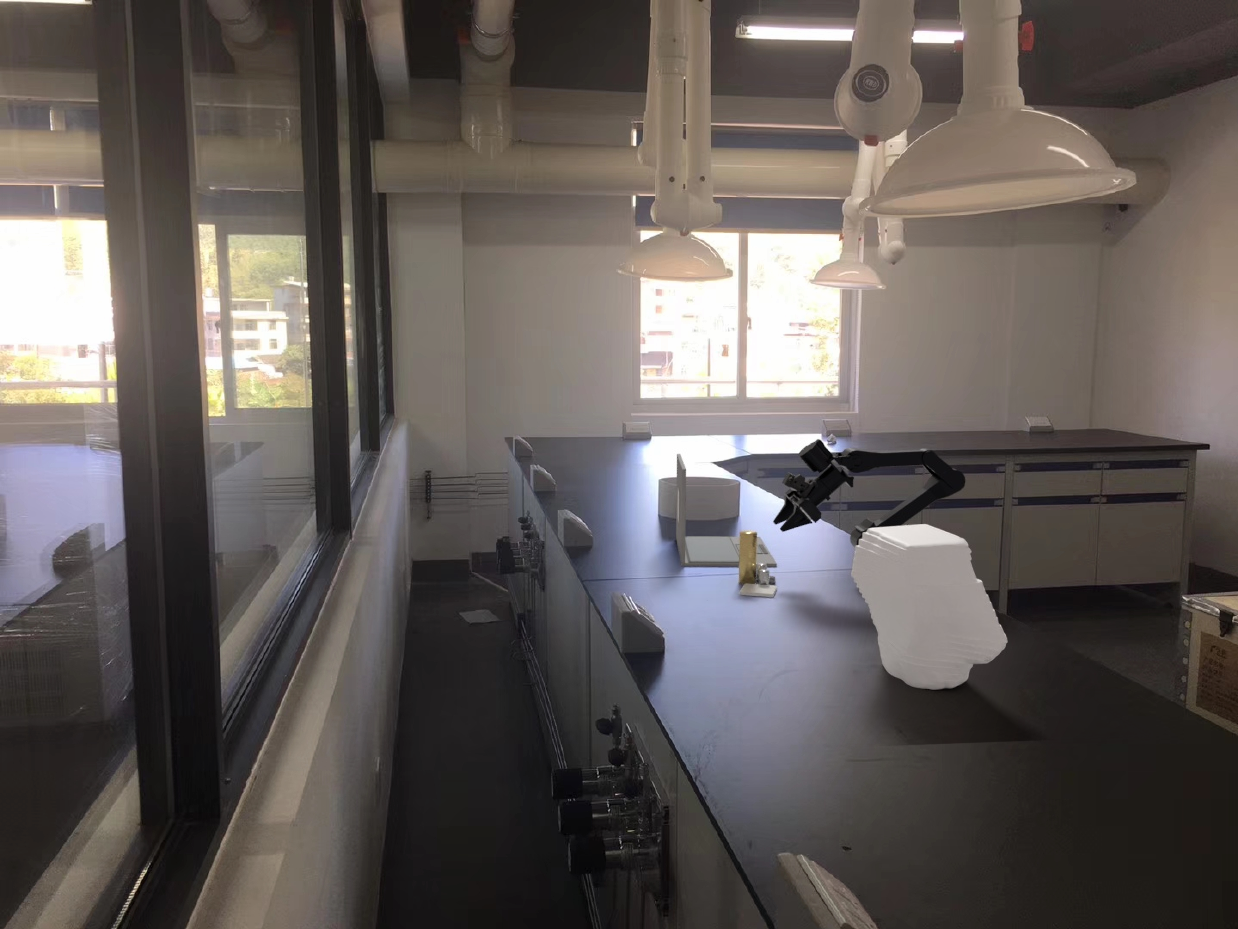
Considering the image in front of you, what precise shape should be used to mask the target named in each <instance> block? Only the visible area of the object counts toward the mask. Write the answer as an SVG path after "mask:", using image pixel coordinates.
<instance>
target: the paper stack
mask: <svg viewBox="0 0 1238 929" xmlns="http://www.w3.org/2000/svg"><path fill="white" fill-rule="evenodd" d="M854 549H855V550H854V551H853V552H854V554H853V555H854V557H853V559H852V568H851V573H850V577H851V578H853V583H856V588H858V590H859V591H858V592H859V594H861V598H863V599H864V602H865V603H866V604H867V605H868V606H867V607H868V608H869V614H871V615H870V618H871V620H872V624H873V625H874V626H875V628H876V631H877V635H878V636H877V642H878V644H877V646H878V647H879V653H880V654H879V655H880V659H881V662H882V663H881V665H882V666H883V667H884V670H886V672H887V673H888V674H889V675H891V676H892V677H893V678H894V677H895V678H896V679H899V680H902V682H904V683H905V684H906V685H907V686H910V687H913V688H915V689H924V690H925V689H927V690H928V689H929V690H932V691H933V690H935V691H938V690H943V689H953V688H956V687H957V686H961V685H962V684H964V683H965V682H967V680H968V679H969V675H970V672H971V669H972V668H973V667H974V666H973V665H983V664H989V663H990V662H991V661H993V660H994V659H995V658H997V656H999V655H1000V653H1002V651H1003V650H1005V648H1006V645H1007V643H1008V637H1007V635H1006V633H1005V632H1004V629H1003V627H1002V625H1001V624H1000V623H999V617H998V616H997V613H996V611H995V609H994V607H993V603H992V602H991V600H990V597H989V594H987V592H986V589H985V587H984V582H983V581H982V580H981V579H979V578H977V576H976V574H975V570H974V568H973V565H972V562H971V561H972V556H971V553H972V549H971V548H970V547H969V543H968V542H967V541H966V539H965V538H963V537H960V536H958V535H956V534H954V533H951V532H948V531H945V530H943V529H941V528H938V527H935V526H932V525H930V524H927V523H923V524H920V523H919V524H918V523H917V524H908V525H907V524H903V525H901V526H890V527H876V528H869V529H868V530H867V531H866V532H863V534H862V539H859V545H857V546H855V547H854Z"/></svg>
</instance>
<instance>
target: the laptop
mask: <svg viewBox="0 0 1238 929" xmlns="http://www.w3.org/2000/svg"><path fill="white" fill-rule="evenodd" d="M686 468H687V467H686V465H685V463H684V459H683V458H682V455H681V453H677V454H676V502H675V503H676V508H675V510H676V511H675V512H676V513H675V516H676V519H675V520H676V521H675V522H676V524H675V525H676V527H675V534H676V536H675V538H676V546H677V549H678V555H679V559H680V565H681V567H701V568H702V567H706V568H707V567H708V568H709V567H710V568H711V567H713V568H714V567H715V568H716V567H719V568H720V567H721V568H722V567H723V568H724V567H727V568H730V567H731V568H732V567H733V568H735V567H737V568H739V539H740V536H728V535H727V536H716V535H715V536H714V535H713V536H709V535H708V536H707V535H705V536H704V535H703V536H702V535H701V536H700V535H698V536H697V535H695V536H694V535H692V536H689V535H687V536H686V526H687V524H686V518H687V517H686V515H687V514H686V510H687V508H686V504H687V498H686V497H687V469H686ZM758 563H764V564H767V568H777V566H778V563H777V562H776V559H774V557H773V555H772V554H771V552H770V551H769V549H768V547H767V545H766V544H765V543H764V541H763V539H762V538H761V536H757V564H758Z"/></svg>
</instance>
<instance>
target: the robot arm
mask: <svg viewBox="0 0 1238 929" xmlns="http://www.w3.org/2000/svg"><path fill="white" fill-rule="evenodd" d="M797 457H798V458H799V459H800V460H801V461H802V462H803V463H804V464H805V466H806V467H807V468H808V469H809V470H810V471H811V473H815V472H817V473H818V475H817V477H815V478H814V479H812V478H810V479H808V480H807V481H806V477H805V476H804V475H801V474H797V475H795V474H792V473H791V472H789V471H787V473H786V474H785V476H784V478H783V479H782V481H781V483H782V484H783V485H785V486H786V487H788V488H789V489H788V490H786V491H785V492H784V495H783V496H784V497H783V498H784V499H783V500H784V504H783V506H782V507H781V509H780V510H779V512H778V513H777V515H776V516H775V518H774V519H773V521H772V522H773V524H774V525H775V526H776V525H779V524H781V523H783V524H782V525H781V526H780V528H779V529H780V531H781V532H782V533H783V532H787V531H789V530H793V529H795V528H799V527H803V526H806V525H811V524H813V523H815V524H816V523H818V522H819V520H821V518H822V512H821V510H820V509H819V508H818V507H819V506H821V504H823V503H824V502H825V501H830V500H831V499H832V498H831V496H832V495H833V494H835V492H837V490H839V489H840V488H841V487H842V486H844V484H846V485H847V486H848V487H850V488H854V479H855V477H854V476H853V475H848V474H847V472H846V471H849V472H850V473H854V474H861V473H863V472H867V471H868V472H869V471H872V470H875V469H878V468H884V467H885V468H886V467H909V466H922V467H923V468H924V469H925V470H926V471H927V472H928V473H929V475H930V477H929V478H928V480H927V481H926V483H925V484H924V486H922V488H921V489H919V490H918V491H916V492H915V493H914V494H912V495H910V496H909V497H908V498H907V499H905V500H904V501H902V502H901V503H899V504H898V505H897V506H896V507H894V508H892V509H891V510H890V511H888V512H887V513H886V514H884V515H883V516H882V517H880V518H879V519H876V520H873V521H872V520H871V519H869V518H868V517H867V518H864V520H863V521H862V522H860V524H857V525H854V529H853V530H852V531H851V533H850V537H849V542H850V544H851V546H852V547H853V548H855V546H857V545H859V539H862V534H863V532H866V531H867V530H868V529H869V528H876V527H890V526H903V525H905V523H908V521H910V520H911V519H912V518H914V517H915V516H917V515H918V514H919V513H921V512H922V511H923V510H925V509H926V508H927V507H929V506H930V505H931V504H933V503H935V502H936V501H938V500H939V501H940V500H942V499H945V498H948V497H951V496H953V495H954V494H957V493H959V492H961V491H962V490H963V489H964V488H965V486H966V476H965V474H964V473H963V472H962V471H960V470H958V469H955V468H953V467H952V466H950V465H949V464H948V463H947V462H945V461H944V460H943V459H942V458H941V457H939V456H938V455H937V453H936V452H935V451H934V450H932V449H929V448H925V447H924V448H920V449H903V450H901V449H899V450H898V449H897V450H884V451H883V450H881V451H880V450H870V449H863V448H855V447H846V448H845V449H843V450H842V451H840V452H831V451H830V450H829V449H828V448H827V447H826V445H825V444H824V442H823V441H822V440H821V439H819V438H817V439H815V440H814V441H812V442H811V443H809V444H808V445H805V446H804V447H803V448H802V449H801V450H800V451H799V453H798V454H797ZM834 463H835V464H836V465H838V466H840V467H838V468H837V467H836V466H835V465H834ZM844 469H845V470H846V471H845V470H844Z"/></svg>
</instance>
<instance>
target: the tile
mask: <svg viewBox="0 0 1238 929" xmlns="http://www.w3.org/2000/svg"><path fill="white" fill-rule="evenodd" d="M777 590H778V585H774V584H769V585H760V584H759V583H758V584H757V583H756V584H746V583H745V584H744V585H743V586H742V588H741V589H740V591H739V596H740V595H741V596H753V597H763V598H765V597H766V598H774V597H775V594H776V592H777Z"/></svg>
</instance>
